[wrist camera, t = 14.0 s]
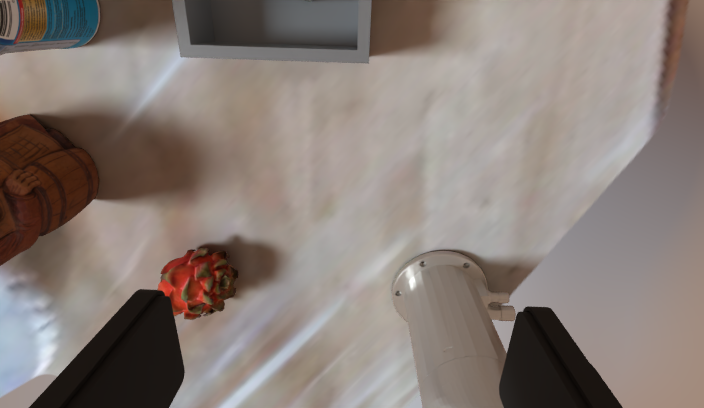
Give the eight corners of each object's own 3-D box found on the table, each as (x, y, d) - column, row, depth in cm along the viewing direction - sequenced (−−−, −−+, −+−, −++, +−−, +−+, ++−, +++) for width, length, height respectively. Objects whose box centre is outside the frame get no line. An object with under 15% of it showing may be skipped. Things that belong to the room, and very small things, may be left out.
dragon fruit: (249, 239, 50) (195, 276, 55) (191, 224, 43) (135, 268, 48) (259, 300, 46) (199, 334, 50) (196, 294, 39) (134, 334, 44)
